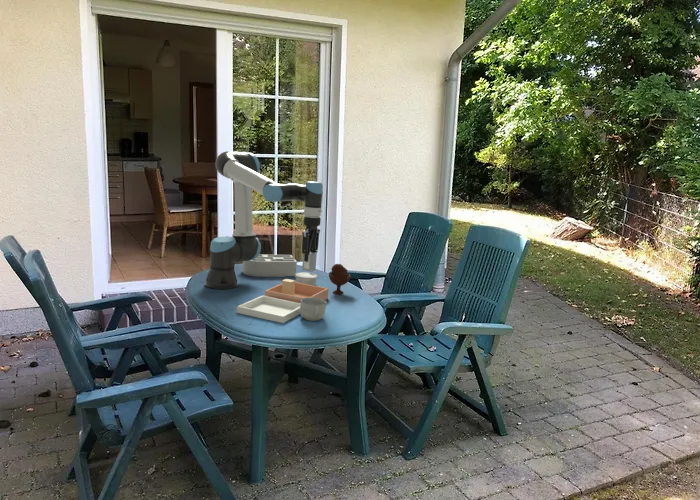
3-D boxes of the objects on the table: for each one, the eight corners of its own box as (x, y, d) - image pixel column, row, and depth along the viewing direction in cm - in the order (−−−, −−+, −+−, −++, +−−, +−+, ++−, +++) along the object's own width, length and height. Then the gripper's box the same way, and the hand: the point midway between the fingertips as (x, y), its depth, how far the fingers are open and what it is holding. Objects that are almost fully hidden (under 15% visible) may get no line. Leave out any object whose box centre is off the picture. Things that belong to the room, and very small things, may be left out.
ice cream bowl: (346, 297, 261) (349, 267, 258) (324, 294, 263) (326, 264, 260) (351, 292, 271) (353, 263, 268) (329, 289, 273) (332, 260, 270)
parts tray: (236, 313, 225) (237, 306, 224) (262, 301, 243) (262, 295, 243) (283, 323, 217) (283, 316, 216) (305, 311, 235) (306, 304, 235)
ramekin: (321, 285, 278) (321, 276, 277) (305, 288, 270) (305, 278, 269) (306, 280, 286) (307, 271, 285) (290, 283, 278) (291, 273, 277)
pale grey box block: (302, 270, 245) (303, 252, 243) (306, 268, 248) (307, 251, 247) (311, 271, 243) (312, 254, 241) (315, 270, 247) (316, 253, 245)
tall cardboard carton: (281, 297, 251) (282, 280, 250) (285, 295, 255) (286, 278, 253) (290, 298, 250) (291, 282, 248) (294, 296, 253) (295, 280, 252)
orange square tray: (264, 301, 245) (265, 290, 244) (287, 290, 264) (288, 280, 263) (307, 310, 237) (307, 299, 236) (327, 298, 257) (328, 288, 256)
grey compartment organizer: (296, 277, 292) (297, 261, 290) (243, 277, 283) (244, 261, 282) (290, 269, 307) (291, 254, 306) (240, 269, 299) (241, 254, 297)
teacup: (299, 313, 231) (300, 296, 229) (324, 315, 232) (326, 297, 230) (299, 325, 217) (300, 305, 216) (326, 326, 218) (327, 307, 217)
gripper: (311, 219, 232) (307, 272, 236) (328, 215, 247) (324, 265, 252) (295, 217, 235) (292, 269, 239) (313, 213, 250) (310, 262, 255)
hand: (308, 267), depth 246 cm, fingers closed on pale grey box block, 4 cm apart
